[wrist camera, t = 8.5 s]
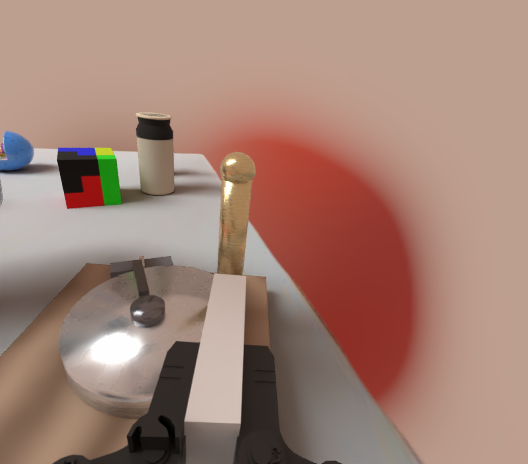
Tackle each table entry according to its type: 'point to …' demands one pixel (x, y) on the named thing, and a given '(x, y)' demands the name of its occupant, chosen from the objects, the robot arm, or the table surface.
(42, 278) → the table surface
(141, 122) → the travel mug
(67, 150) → the puzzle toy
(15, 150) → the cell model
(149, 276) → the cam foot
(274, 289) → the table surface
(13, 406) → the walnut stand
